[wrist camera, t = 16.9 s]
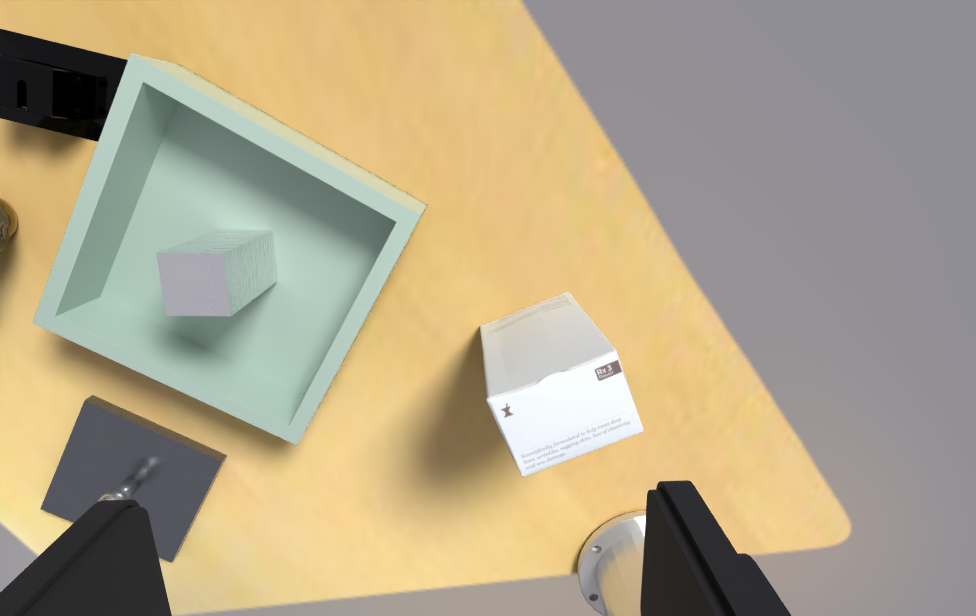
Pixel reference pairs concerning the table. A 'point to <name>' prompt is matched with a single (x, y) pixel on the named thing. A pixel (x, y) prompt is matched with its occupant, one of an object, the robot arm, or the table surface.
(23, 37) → the black slotted box
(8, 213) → the cup
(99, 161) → the bin
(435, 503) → the table surface
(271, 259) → the strut
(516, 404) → the skincare box
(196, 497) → the stud plate
